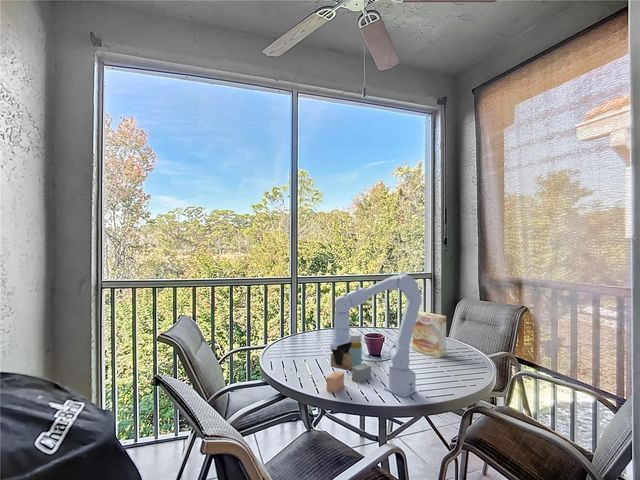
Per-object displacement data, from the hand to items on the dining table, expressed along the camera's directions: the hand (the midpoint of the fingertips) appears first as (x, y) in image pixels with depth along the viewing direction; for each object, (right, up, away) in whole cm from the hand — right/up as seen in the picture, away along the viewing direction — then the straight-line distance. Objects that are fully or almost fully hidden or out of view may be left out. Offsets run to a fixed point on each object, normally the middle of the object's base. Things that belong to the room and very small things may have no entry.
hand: (341, 363), depth 130 cm
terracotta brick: (-2, -10, 0) cm, 10 cm away
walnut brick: (0, -2, 0) cm, 2 cm away
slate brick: (+9, -10, +9) cm, 16 cm away
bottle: (+7, -10, +20) cm, 23 cm away
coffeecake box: (+47, -10, +41) cm, 63 cm away
